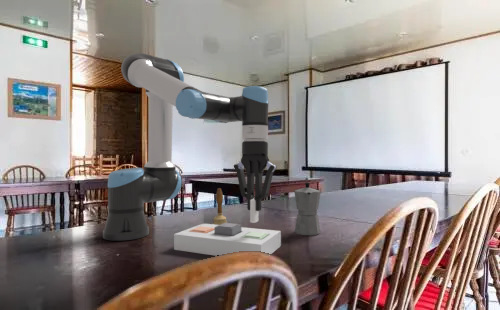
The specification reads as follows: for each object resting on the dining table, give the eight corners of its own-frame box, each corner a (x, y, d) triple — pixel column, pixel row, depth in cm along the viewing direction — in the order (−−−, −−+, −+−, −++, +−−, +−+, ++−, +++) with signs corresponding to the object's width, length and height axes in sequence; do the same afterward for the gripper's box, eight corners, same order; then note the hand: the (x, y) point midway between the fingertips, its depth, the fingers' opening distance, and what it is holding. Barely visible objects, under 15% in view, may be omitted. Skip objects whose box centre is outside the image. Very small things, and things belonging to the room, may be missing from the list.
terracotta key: (189, 240, 98) (189, 229, 98) (200, 235, 103) (200, 225, 103) (206, 242, 96) (205, 231, 96) (216, 237, 101) (216, 227, 101)
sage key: (241, 247, 91) (241, 235, 91) (250, 241, 96) (250, 231, 96) (261, 249, 88) (261, 237, 88) (268, 244, 94) (268, 232, 94)
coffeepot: (323, 237, 107) (323, 184, 107) (295, 236, 108) (295, 184, 108) (318, 227, 122) (317, 180, 122) (293, 226, 123) (293, 180, 123)
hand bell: (228, 235, 110) (227, 189, 110) (205, 234, 112) (205, 189, 112) (233, 230, 119) (233, 187, 118) (212, 229, 120) (212, 187, 120)
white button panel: (174, 249, 94) (173, 234, 94) (203, 236, 109) (203, 223, 109) (261, 262, 83) (261, 244, 83) (280, 246, 97) (280, 231, 97)
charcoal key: (214, 237, 94) (214, 226, 94) (224, 232, 100) (224, 222, 100) (232, 239, 92) (232, 227, 92) (241, 234, 97) (241, 223, 97)
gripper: (229, 140, 91) (228, 222, 92) (271, 140, 86) (270, 226, 86) (240, 141, 98) (239, 217, 98) (280, 141, 93) (279, 221, 93)
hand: (254, 221), depth 92 cm, fingers closed
